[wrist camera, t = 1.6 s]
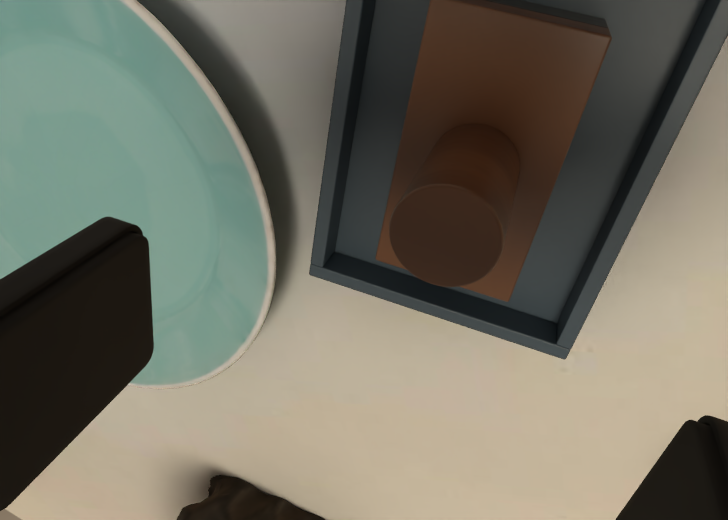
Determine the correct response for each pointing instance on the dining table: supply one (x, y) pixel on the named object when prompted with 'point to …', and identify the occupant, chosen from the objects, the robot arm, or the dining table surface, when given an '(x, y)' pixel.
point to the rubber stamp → (486, 138)
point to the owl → (241, 504)
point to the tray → (572, 188)
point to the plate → (134, 172)
